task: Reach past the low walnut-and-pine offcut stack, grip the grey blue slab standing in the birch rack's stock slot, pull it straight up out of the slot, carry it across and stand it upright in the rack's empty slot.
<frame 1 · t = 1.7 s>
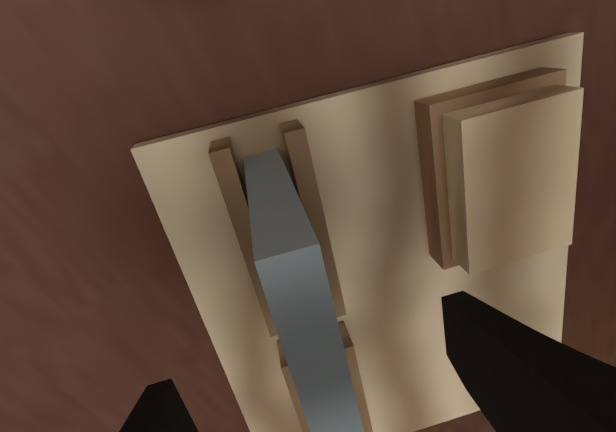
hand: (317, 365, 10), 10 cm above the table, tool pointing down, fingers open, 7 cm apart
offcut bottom: (480, 168, 19), point 1 cm above the table, touching offcut top, rack
grey blue slab: (280, 224, 18), point 1 cm above the table, touching rack
offcut top: (499, 177, 18), point 2 cm above the table, touching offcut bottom
rack: (391, 286, 22), on the table
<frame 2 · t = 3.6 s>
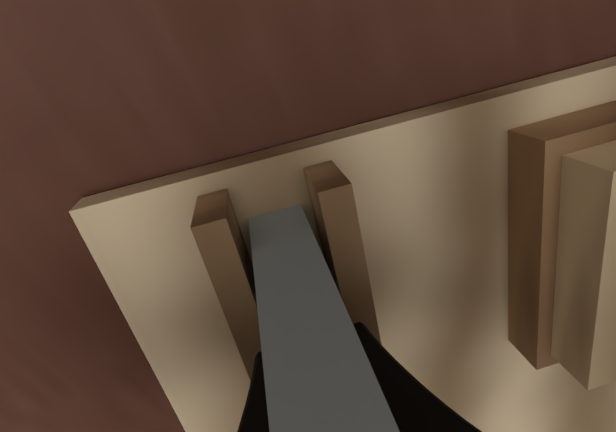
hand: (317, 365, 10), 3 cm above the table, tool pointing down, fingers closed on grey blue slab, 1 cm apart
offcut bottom: (591, 223, 13), point 1 cm above the table, touching offcut top, rack
grey blue slab: (302, 309, 12), point 1 cm above the table, touching gripper, rack
rack: (447, 374, 16), on the table
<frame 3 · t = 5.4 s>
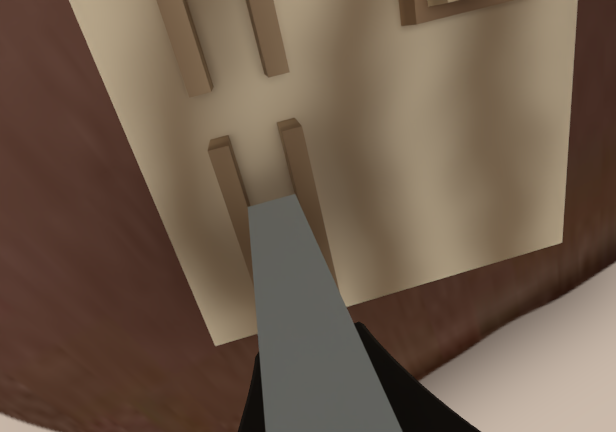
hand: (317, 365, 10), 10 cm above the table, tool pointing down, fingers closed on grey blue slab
grey blue slab: (298, 294, 13), point 7 cm above the table, touching gripper
rack: (355, 85, 18), on the table
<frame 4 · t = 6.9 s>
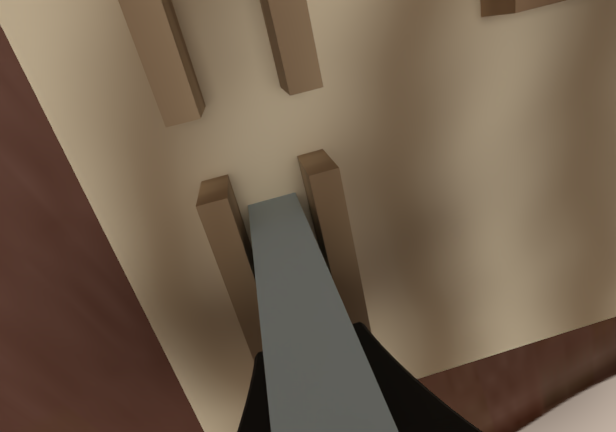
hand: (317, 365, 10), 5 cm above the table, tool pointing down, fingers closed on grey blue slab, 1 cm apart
grey blue slab: (297, 290, 14), point 1 cm above the table, touching gripper, rack
rack: (407, 101, 13), on the table
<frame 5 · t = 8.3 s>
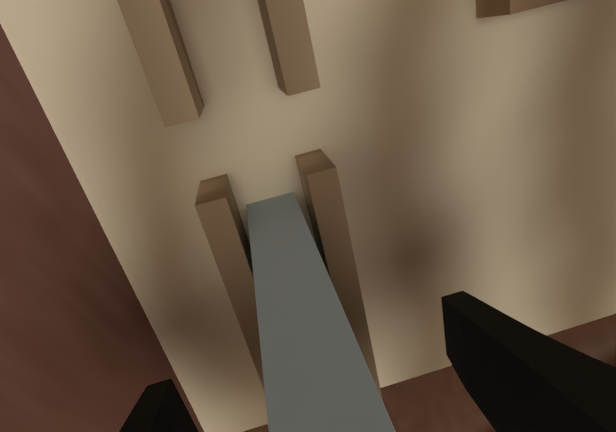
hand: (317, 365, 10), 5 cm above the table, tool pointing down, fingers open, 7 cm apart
grey blue slab: (295, 288, 14), point 1 cm above the table, touching rack
rack: (404, 101, 13), on the table
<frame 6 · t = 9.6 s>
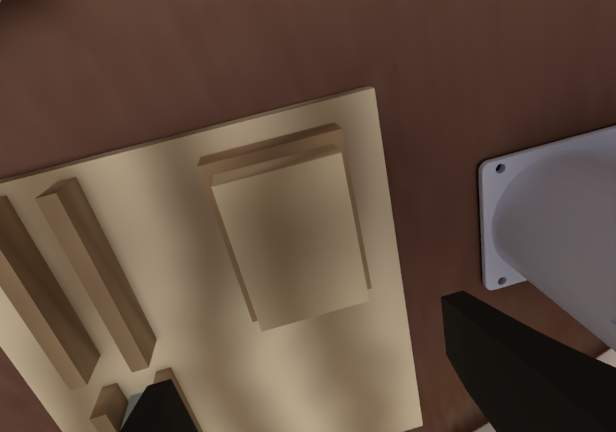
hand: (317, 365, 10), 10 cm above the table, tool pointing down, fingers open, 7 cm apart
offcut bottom: (289, 220, 19), point 1 cm above the table, touching offcut top, rack
offcut top: (293, 233, 18), point 2 cm above the table, touching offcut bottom
rack: (226, 331, 22), on the table
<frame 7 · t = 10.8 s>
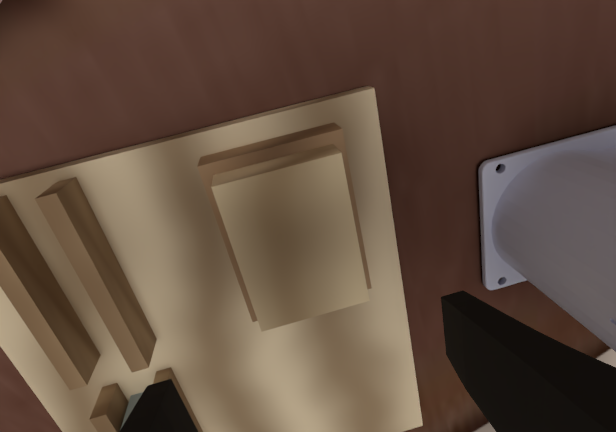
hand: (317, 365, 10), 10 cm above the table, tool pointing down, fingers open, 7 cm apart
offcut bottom: (289, 220, 19), point 1 cm above the table, touching offcut top, rack
offcut top: (293, 233, 18), point 2 cm above the table, touching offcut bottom
rack: (226, 331, 22), on the table
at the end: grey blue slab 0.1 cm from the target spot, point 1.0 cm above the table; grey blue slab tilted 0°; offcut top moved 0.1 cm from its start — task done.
